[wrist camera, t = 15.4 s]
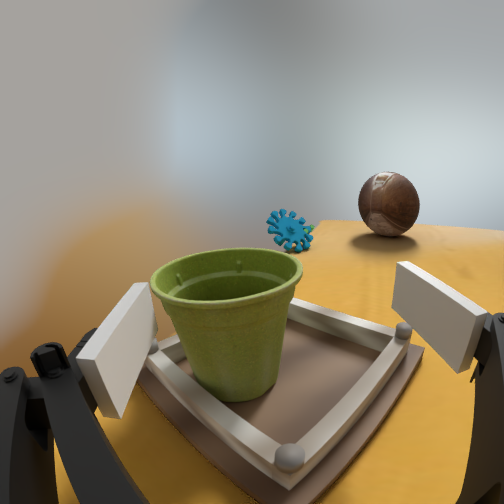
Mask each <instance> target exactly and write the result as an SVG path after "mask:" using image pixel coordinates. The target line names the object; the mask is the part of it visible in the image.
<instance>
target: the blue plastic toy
mask: <svg viewBox="0 0 504 504" xmlns="http://www.w3.org/2000/svg"><path fill="white" fill-rule="evenodd" d="M279 214H280V216H281V218H279V217H278V212H277V211H273V212H272V213H271V217H269V218H268V220H267V222H266V223H268V224H270V225H272V226H269V228H268V233H269V234H273V233H274V234H278V235H280V236H281V237H280V236H278V235H277V236H275V238H274V241H275V243H276V244H278V245H279V246H281V245H282V244H283V243H284V241H285V240H286V241H288V243H286V244H285V245H284V248H285V249H286V250H288V251H289V250H290V249H291V248H292V243H295V244H296V245H297V246H296V247H295V251H296V252H301V251H302V249H303V248H304V249H308V248H309V247H310V246H311V245H310V242H311V241H312V240H313V236H312V235H309V233H310V232H311V231H312V230H313V229H314V226H313V225H310V226H303V224H304V223H305V222H306V221H305V220H304V218H302V217H301V218H300V219H299V220H294V219H293V218H294V217H295V216H296V213H295V212H293V211H291V212H290V214H289V217H286V216H285V214H286V210H284V209H281V210H280V212H279ZM272 217H273V218H274V219H275V220H276V222H277V223H276V222H275V221H274V219H273V218H272ZM300 224H301V225H300ZM273 226H274V227H275V228H276V229H275V228H274V227H273ZM305 238H306V240H307V241H308V242H309V243H308V242H307V241H306V240H305ZM300 242H302V243H303V248H302V246H301V244H300Z"/></svg>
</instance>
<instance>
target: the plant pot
mask: <svg viewBox="0 0 504 504" xmlns="http://www.w3.org/2000/svg"><path fill="white" fill-rule="evenodd" d="M302 274H303V266H302V264H301V262H300V261H299V260H298V259H297V258H296V257H294V256H292V255H289V254H287V253H284V252H280V251H275V250H270V249H262V248H228V249H219V250H211V251H206V252H201V253H196V254H191V255H188V256H185V257H182V258H179V259H176V260H174V261H171V262H169V263H167V264H166V265H164V266H162V267H161V268H159V269H158V270H156V271H155V273H154V274H153V275H152V277H151V279H150V286H151V290H152V292H153V293H154V294H155V295H156V296H157V297H158V298H159V299H161V302H162V304H163V307H164V309H165V311H166V313H167V314H168V315H169V316H170V317H171V320H172V322H173V324H174V327H175V330H176V332H177V335H178V337H179V340H180V342H181V344H182V347H183V350H184V352H185V355H186V357H187V359H188V362H189V364H190V366H191V369H192V371H193V374H194V376H195V378H196V381H197V383H198V384H199V385H200V386H201V387H202V388H204V389H205V390H206V391H207V392H209V393H210V394H211V395H212V396H214V397H215V398H216V399H218V400H221V401H226V402H242V401H248V400H252V399H255V398H257V397H260V396H262V395H263V394H264V393H265V392H266V391H267V390H268V389H269V388H270V387H271V386H272V385H273V384H275V383H276V381H277V378H278V373H279V367H280V361H281V354H282V347H283V340H284V334H285V327H286V321H287V315H288V309H289V303H290V302H291V300H292V298H293V296H294V291H295V286H296V284H297V283H298V282H299V281H300V280H301V278H302Z"/></svg>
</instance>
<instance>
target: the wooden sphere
mask: <svg viewBox="0 0 504 504" xmlns="http://www.w3.org/2000/svg"><path fill="white" fill-rule="evenodd" d="M358 200H359V201H358V206H359V212H360V215H361V217H362V219H363V221H364V222H365V224H366V225H367V226H368V227H369V228H370V229H371V230H372V231H374V232H376V233H378V234H380V235H383V236H397V235H400V234H403V233H404V232H406V231H407V230H409V229H410V228H411V227H412V226H413V224H414V223H415V221H416V219H417V217H418V213H419V206H420V203H419V198H418V194H417V191H416V189H415V188H414V186H413V185H412V183H411V182H410V181H409V180H408V179H407V178H405V177H404V176H402V175H400V174H397V173H393V172H382V173H378V174H376V175H374V176H372V177H371V178H369V179H368V180H367V181H366V182H365V184H364V185H363V187H362V189H361V191H360V194H359V199H358Z"/></svg>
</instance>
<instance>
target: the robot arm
mask: <svg viewBox="0 0 504 504" xmlns="http://www.w3.org/2000/svg"><path fill="white" fill-rule="evenodd" d="M391 308H392V309H394V310H395V311H396V312H397V313H398V314H399V315H400V316H401V317H402V318H403V319H404V320H405V321H406V322H407V323H408V324H409V325H410V326H411V327H412V328H413V329H414V330H415V331H416V332H417V333H418V334H419V335H420V336H421V337H422V338H423V339H424V340H425V341H426V342H427V343H428V344H429V345H430V346H431V347H432V348H433V349H434V350H435V351H436V352H437V353H438V354H439V355H440V356H441V357H442V358H443V359H444V360H445V361H446V362H447V364H448V365H449V366H450V367H451V368H452V369H453V370H454V371H455V372H456V373H457V374H458V373H461V372H463V371H465V370H468V369H469V368H470V365H471V363H472V360H473V357H475V358H476V359H477V360H478V363H477V365H476V368H475V370H474V372H473V375H472V377H471V380H470V383H472V381H473V379H475V405H474V419H473V429H472V438H471V445H470V452H469V458H468V463H467V469H466V473H465V478H464V483H463V487H462V491H461V494H460V496H459V498H458V500H457V502H456V503H455V504H504V313H496V314H494V315H491V314H490V313H488V312H487V311H486V310H484V309H483V308H481V307H480V306H478V305H477V304H476V303H474V302H473V301H471V300H470V299H468V298H467V297H465V296H463V295H462V294H460V293H459V292H457V291H456V290H454V289H453V288H451V287H450V286H448V285H446V284H445V283H443V282H442V281H440V280H438V279H437V278H435V277H434V276H432V275H430V274H429V273H427V272H425V271H424V270H422V269H420V268H419V267H417V266H415V265H414V264H412V263H410V262H409V261H404V262H397V266H396V276H395V285H394V293H393V300H392V307H391ZM157 331H158V327H157V323H156V318H155V314H154V309H153V304H152V299H151V294H150V289H149V284H148V282H147V283H134V284H133V286H132V287H131V288H130V289H129V290H128V292H127V293H126V294H125V295H124V296H123V298H122V299H121V300H120V301H119V302H118V304H117V305H116V306H115V308H114V309H113V310H112V311H111V313H110V314H109V315H108V316H107V318H106V319H105V320H104V321H103V323H102V324H101V325H100V326H99V328H94V329H92V330H91V331H89V332H88V333H86V334H85V335H84V337H83V338H82V339H81V341H80V342H79V343H78V344H77V345H76V347H75V348H74V349H73V351H72V352H71V353H70V354H69V356H68V357H67V356H66V354H65V351H64V349H63V347H62V345H61V344H59V343H55V342H51V343H46V344H43V345H41V346H39V347H37V348H36V349H35V350H34V351H33V352H32V353H31V356H30V358H31V361H32V363H33V365H34V367H35V369H36V371H37V373H38V375H39V377H30V378H27V376H26V374H25V372H24V370H23V369H22V368H20V367H11V368H7V369H5V370H4V371H3V372H2V373H1V374H0V504H59V502H58V494H57V486H56V475H55V461H54V438H55V442H56V445H57V448H58V451H59V454H60V457H61V459H62V462H63V465H64V467H65V470H66V473H67V475H68V478H69V480H70V482H71V485H72V487H73V489H74V492H75V494H76V496H77V498H78V500H79V502H80V504H150V503H149V502H148V500H147V499H146V498H145V496H144V495H143V494H142V492H141V491H140V489H139V488H138V487H137V485H136V484H135V482H134V481H133V479H132V478H131V476H130V475H129V473H128V472H127V470H126V469H125V467H124V466H123V464H122V462H121V461H120V459H119V457H118V456H117V454H116V452H115V451H114V449H113V447H112V446H111V444H110V442H109V440H108V438H107V437H106V435H105V433H104V431H103V429H102V427H101V425H100V423H99V422H98V420H97V418H96V416H95V414H94V412H95V410H96V408H97V406H98V408H99V410H100V411H101V413H102V415H103V417H109V418H117V419H121V418H122V415H123V413H124V410H125V408H126V405H127V403H128V400H129V398H130V395H131V393H132V390H133V388H134V385H135V383H136V380H137V378H138V375H139V373H140V371H141V368H142V366H143V364H144V361H145V359H146V357H147V354H148V352H149V350H150V347H151V345H152V343H153V340H154V338H155V336H156V333H157Z"/></svg>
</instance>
